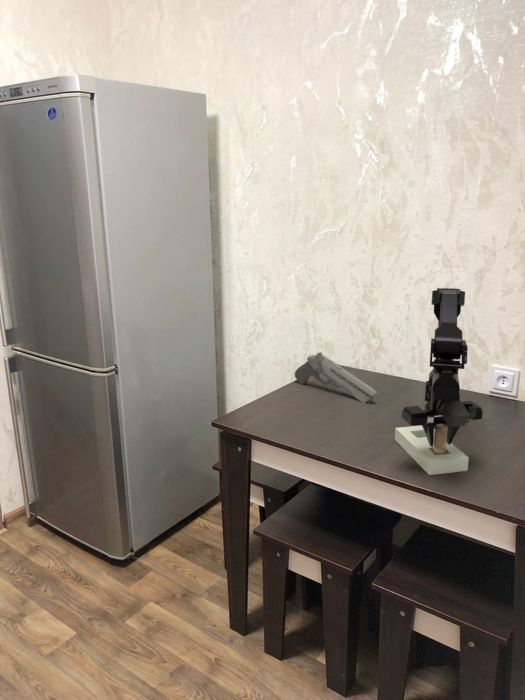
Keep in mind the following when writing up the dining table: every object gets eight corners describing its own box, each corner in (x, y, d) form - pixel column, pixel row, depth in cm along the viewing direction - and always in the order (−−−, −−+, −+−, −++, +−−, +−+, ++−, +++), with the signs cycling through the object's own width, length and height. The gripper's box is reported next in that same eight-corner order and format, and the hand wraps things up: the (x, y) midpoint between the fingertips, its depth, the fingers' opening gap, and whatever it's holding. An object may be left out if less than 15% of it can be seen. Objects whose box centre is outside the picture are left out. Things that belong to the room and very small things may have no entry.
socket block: (394, 439, 154) (395, 428, 153) (428, 436, 156) (429, 424, 155) (429, 475, 135) (430, 462, 134) (467, 470, 137) (468, 457, 136)
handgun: (364, 426, 186) (380, 390, 178) (359, 429, 184) (374, 392, 176) (296, 376, 202) (307, 341, 195) (290, 378, 200) (302, 343, 192)
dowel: (441, 460, 142) (444, 423, 139) (447, 465, 139) (450, 428, 137) (430, 461, 142) (432, 424, 139) (435, 466, 139) (438, 429, 136)
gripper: (423, 401, 125) (419, 464, 130) (499, 394, 129) (492, 455, 133) (402, 384, 136) (399, 443, 140) (473, 378, 139) (467, 436, 144)
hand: (439, 445), depth 139 cm, fingers open, 4 cm apart
